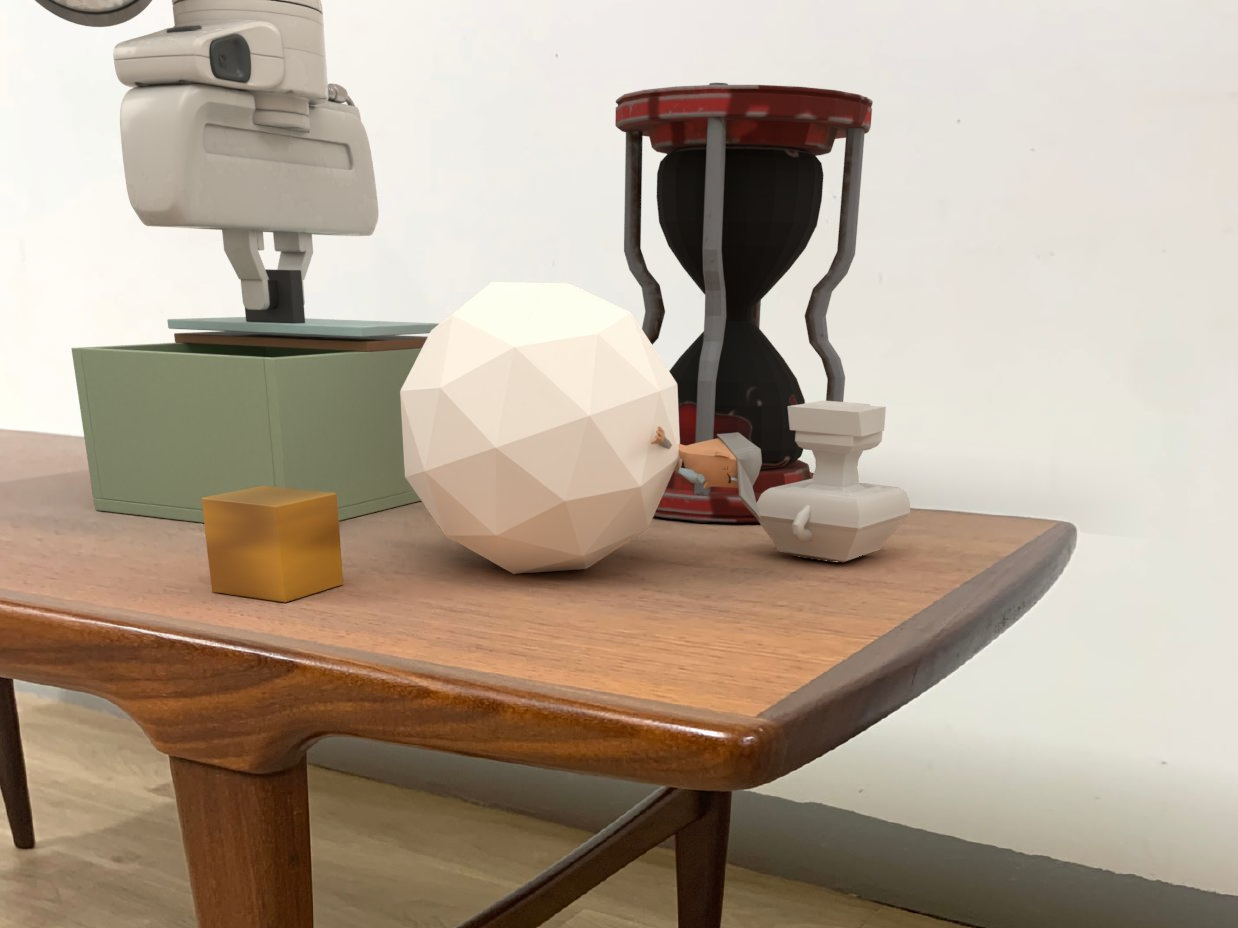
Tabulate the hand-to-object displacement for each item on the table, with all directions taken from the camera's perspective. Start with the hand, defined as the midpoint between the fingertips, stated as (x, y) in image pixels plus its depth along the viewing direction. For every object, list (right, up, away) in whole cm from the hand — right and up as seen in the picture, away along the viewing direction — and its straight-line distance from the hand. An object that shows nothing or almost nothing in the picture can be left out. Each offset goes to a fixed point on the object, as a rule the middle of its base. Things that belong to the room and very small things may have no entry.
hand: (274, 309), depth 85 cm
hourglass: (+30, -11, +6) cm, 33 cm away
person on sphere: (+20, -21, -15) cm, 33 cm away
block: (+6, -22, -20) cm, 30 cm away
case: (-1, -12, +4) cm, 12 cm away
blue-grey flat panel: (+1, 0, +3) cm, 3 cm away
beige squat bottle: (+35, -19, -10) cm, 41 cm away
